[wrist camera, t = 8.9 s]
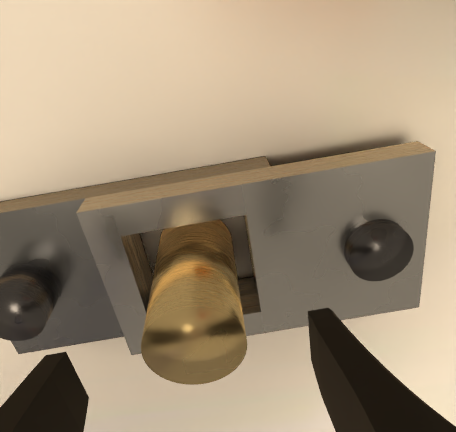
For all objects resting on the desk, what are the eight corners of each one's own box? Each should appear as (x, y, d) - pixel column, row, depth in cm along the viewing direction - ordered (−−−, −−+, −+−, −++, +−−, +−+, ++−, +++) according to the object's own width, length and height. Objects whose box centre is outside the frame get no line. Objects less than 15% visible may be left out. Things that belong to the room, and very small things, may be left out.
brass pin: (168, 278, 17) (155, 391, 12) (152, 219, 16) (128, 317, 11) (236, 267, 17) (252, 375, 12) (226, 206, 16) (239, 299, 11)
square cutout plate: (29, 334, 18) (0, 387, 16) (-41, 208, 15) (-92, 248, 13) (393, 273, 18) (426, 316, 16) (402, 132, 15) (446, 156, 12)
